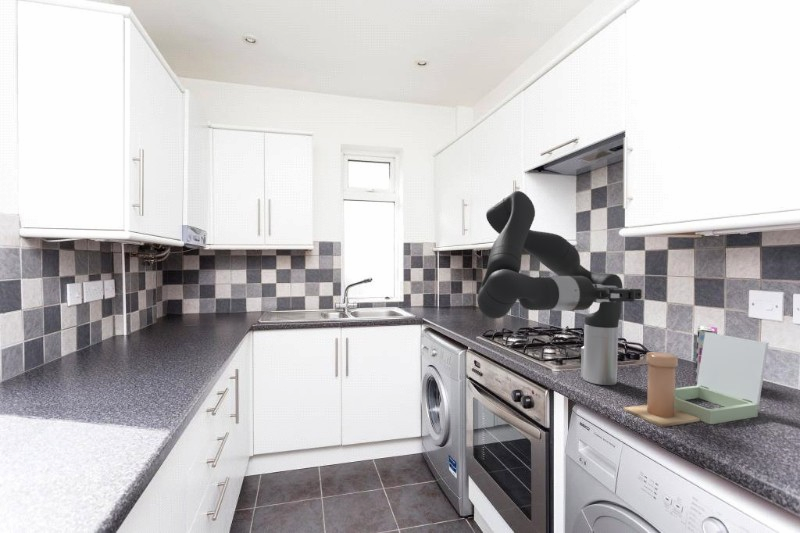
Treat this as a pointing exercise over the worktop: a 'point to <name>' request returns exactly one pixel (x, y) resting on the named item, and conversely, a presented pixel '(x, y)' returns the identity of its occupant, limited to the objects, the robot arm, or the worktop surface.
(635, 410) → the mat
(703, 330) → the candy bar box
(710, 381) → the frame lid
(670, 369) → the tan capped bottle
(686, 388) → the frame
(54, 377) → the worktop surface
